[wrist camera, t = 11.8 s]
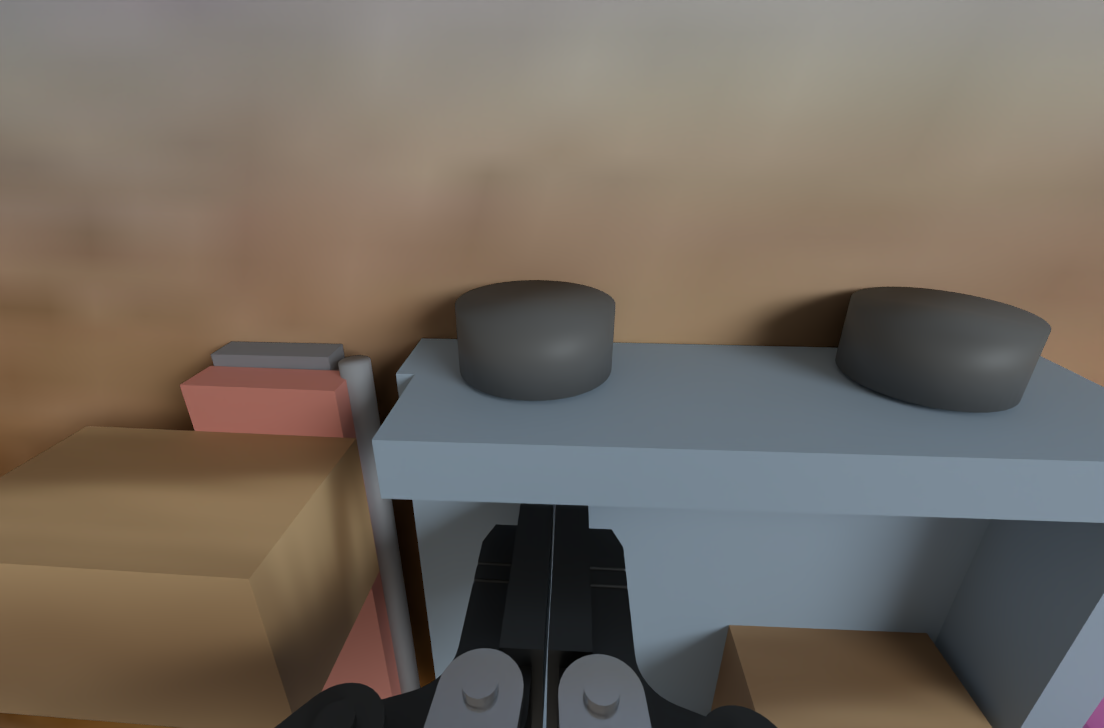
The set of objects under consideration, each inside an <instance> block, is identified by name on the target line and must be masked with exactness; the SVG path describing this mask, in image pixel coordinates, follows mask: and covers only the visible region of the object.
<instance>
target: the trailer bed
mask: <svg viewBox="0 0 1104 728" xmlns="http://www.w3.org/2000/svg"><path fill="white" fill-rule="evenodd" d="M455 313H456V326H457V339H428V338H422V339H421V340H420V342H419V343H418V344H417V346H416V347H415V348H414V350H413V351H412V352H411V354H410V355H409V357H408V358H407V359H406V361H405V362H404V363H403V365H402V366H401V367H400V369H399V370H398V372H397V373H396V379H397V387H398V394H399V399H398V401H397V402H396V404H395V405H394V407H393V408H392V410H391V411H390V413H389V414H388V416H387V418H386V419H385V421H384V422H383V424H382V425H381V427H380V428H379V430H378V431H377V433H376V434H375V436H374V437H373V439H372V445H373V451H374V457H375V463H376V469H377V476H378V482H379V488H380V494H381V499H409V500H412V501H413V509H414V516H415V524H416V531H417V539H418V547H419V554H420V562H421V570H422V577H423V585H424V592H425V600H426V608H427V615H428V623H429V631H430V638H431V646H432V654H433V661H434V669H435V676H436V679H437V678H438V677H439V676H440V675H441V674H443V672H444V670H445V669H446V668H447V666H448V665H449V664H450V663H451V662H452V661H453V659H454V657H455V655H456V653H457V650H458V646H459V642H460V638H461V633H462V629H463V625H464V620H465V616H466V611H467V607H468V603H469V598H470V594H471V590H472V585H473V583H474V576H475V572H476V568H477V565H478V559H479V554H480V550H481V546H482V541H483V540H484V539H485V538H486V536H487V535H488V534H489V532H490V531H491V530H492V529H493V527H494V526H495V525H496V524H499V525H517V524H518V517H519V510H520V504H521V503H528V504H553V544H552V566H553V548H554V530H555V512H556V504H557V505H587V506H588V510H589V528H594V529H612V531H613V532H614V534H615V535H616V537H617V538H618V540H619V541H620V543H621V545H622V546H623V549H624V558H625V568H626V569H625V571H626V577H627V590H628V595H629V604H630V613H631V622H632V632H633V641H634V650H635V657H636V662H637V665H638V668H639V671H640V672H641V674H642V676H643V678H644V679H645V681H646V682H647V683H648V685H649V686H650V687H651V688H652V689H653V690H654V691H655V692H656V693H658V694H659V695H660V696H661V697H663V698H664V699H666V700H668V701H669V702H671V703H674V704H676V705H678V706H680V707H683V708H686V709H688V710H691V711H693V712H696V713H698V714H701V715H703V716H707V714H708V713H710V712H711V708H712V703H713V698H714V694H715V689H716V684H717V680H718V675H719V670H720V665H721V661H722V656H723V651H724V647H725V642H726V637H727V632H728V628H729V625H742V626H766V627H790V628H814V629H838V630H863V631H887V632H911V633H927V634H928V635H929V637H930V638H931V640H932V641H933V643H934V644H935V646H936V647H937V648H938V650H939V651H940V653H941V654H942V656H943V657H944V659H945V660H946V661H947V663H948V664H949V666H950V667H951V669H952V670H953V672H954V673H955V674H956V676H957V677H958V679H959V680H960V682H961V683H962V685H963V686H964V687H965V689H966V690H967V692H968V693H969V695H970V696H971V697H972V699H973V700H974V702H975V703H976V705H977V706H978V708H979V709H980V710H981V712H982V713H983V715H984V716H985V718H986V719H987V721H988V722H989V723H990V725H991V726H992V728H1082V727H1083V726H1084V725H1085V723H1086V722H1087V720H1088V719H1089V717H1090V716H1091V715H1092V713H1093V712H1094V710H1095V709H1096V707H1097V706H1098V704H1099V703H1100V702H1101V700H1102V699H1103V697H1104V387H1102V386H1100V385H1098V384H1096V383H1094V382H1092V381H1090V380H1088V379H1086V378H1084V377H1082V376H1080V375H1078V374H1076V373H1074V372H1072V371H1070V370H1068V369H1066V368H1064V367H1062V366H1060V365H1057V364H1055V363H1053V362H1051V361H1049V360H1047V359H1045V358H1043V357H1041V356H1040V355H1041V352H1042V350H1043V348H1044V346H1045V343H1046V341H1047V339H1048V336H1049V334H1050V332H1051V327H1050V325H1049V324H1048V323H1047V322H1046V321H1045V320H1043V319H1042V318H1040V317H1038V316H1036V315H1034V314H1032V313H1030V312H1028V311H1025V310H1022V309H1020V308H1017V307H1014V306H1011V305H1008V304H1004V303H1001V302H997V301H993V300H989V299H985V298H981V297H976V296H971V295H966V294H961V293H955V292H949V291H942V290H934V289H924V288H912V287H876V288H868V289H863V290H859V291H857V292H855V293H853V294H852V296H851V299H850V303H849V306H848V310H847V314H846V318H845V322H844V326H843V330H842V334H841V338H840V342H839V346H838V348H831V347H786V346H741V345H697V344H652V343H613V335H614V318H615V302H614V300H613V299H612V297H611V296H609V295H608V294H606V293H604V292H603V291H600V290H598V289H595V288H592V287H588V286H585V285H580V284H575V283H568V282H560V281H544V280H528V281H512V282H503V283H496V284H491V285H487V286H483V287H479V288H476V289H473V290H471V291H468V292H467V293H465V294H463V295H462V296H460V297H459V298H458V299H457V301H456V303H455ZM211 357H212V360H213V364H214V366H226V367H253V368H280V369H307V370H334V371H339V366H338V362H339V361H340V360H342V359H343V358H345V357H344V351H343V345H342V344H315V343H272V342H230V343H228V344H227V345H225V346H223V347H222V348H220V349H219V350H217V351H215V352H214V353H212V354H211ZM551 583H552V575H551ZM550 601H551V594H550ZM549 619H550V612H549ZM548 637H549V629H548ZM547 663H548V647H547ZM546 714H547V664H546V682H545V699H544V716H543V728H546Z"/></svg>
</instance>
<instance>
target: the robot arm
mask: <svg viewBox="0 0 1104 728" xmlns="http://www.w3.org/2000/svg"><path fill="white" fill-rule="evenodd" d="M552 544H553V504H528V503H521V504H520V510H519V517H518V524H517V525H499V524H496V525H495V526H494V527H493V529H492V530H491V531H490V532H489V534H488V535H487V536H486V538H485V539H484V540H483V541H482V546H481V550H480V554H479V559H478V565H477V568H476V572H475V576H474V583H473V585H472V590H471V594H470V598H469V603H468V607H467V611H466V616H465V620H464V625H463V629H462V633H461V638H460V642H459V646H458V650H457V653H456V655H455V657H454V659H453V661H452V662H451V663H450V664H449V665H448V666H447V668H446V669H445V670H444V672H443V674H441V675H440V676H439V677H438V678H437V679H435V680H434V681H432V682H431V683H429V684H428V685H426V686H424V687H422V688H419V689H416V690H413V691H410V692H406V693H403V694H399V695H396V696H392V697H388V698H385V699H381V698H380V696H379V695H378V693H377V692H376V691H374V690H373V689H372V688H370V687H369V686H367V685H364V684H361V683H343V684H338V685H335V686H332V687H330V688H328V689H326V690H324V691H322V692H320V693H319V694H317V695H316V696H314V697H313V698H312V699H310V700H309V701H308V702H307V703H305V704H304V705H303V706H301V707H300V708H299V709H298V710H296V711H295V712H294V713H292V714H291V715H290V716H289V717H287V718H286V719H285V720H283V721H282V722H281V723H280V724H278V725H277V726H276V727H274V728H543V716H544V699H545V682H546V664H547V714H546V728H777V727H776V726H775V725H774V724H773V723H772V722H771V721H769V720H768V719H767V718H766V717H764V716H763V715H761V714H760V713H758V712H756V711H753V710H751V709H748V708H745V707H742V706H736V705H727V706H722V707H719V708H716V709H714V710H713V711H711V712H710V713H708V714H707V716H703V715H701V714H698V713H696V712H693V711H691V710H688V709H686V708H683V707H680V706H678V705H676V704H674V703H671V702H669V701H668V700H666V699H664V698H663V697H661V696H660V695H659V694H658V693H656V692H655V691H654V690H653V689H652V688H651V687H650V686H649V685H648V683H647V682H646V681H645V679H644V678H643V676H642V674H641V672H640V671H639V668H638V665H637V662H636V657H635V650H634V641H633V632H632V622H631V613H630V604H629V595H628V590H627V577H626V571H625V569H626V568H625V558H624V549H623V546H622V545H621V543H620V541H619V540H618V538H617V537H616V535H615V534H614V532H613V531H612V529H594V528H589V510H588V506H587V505H557V504H556V512H555V530H554V548H553V566H552ZM551 575H552V583H551ZM550 594H551V601H550ZM549 612H550V619H549ZM548 629H549V637H548ZM547 647H548V663H547Z"/></svg>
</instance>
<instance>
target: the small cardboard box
mask: <svg viewBox="0 0 1104 728" xmlns="http://www.w3.org/2000/svg"><path fill="white" fill-rule="evenodd" d="M727 705H736V706H742V707H745V708H748V709H751V710H753V711H756V712H758V713H760V714H761V715H763V716H764V717H766V718H767V719H768V720H769V721H771V722H772V723H773V724H774V725H775V726H776V727H777V728H992V726H991V725H990V723H989V722H988V721H987V719H986V718H985V716H984V715H983V713H982V712H981V710H980V709H979V708H978V706H977V705H976V703H975V702H974V700H973V699H972V697H971V696H970V695H969V693H968V692H967V690H966V689H965V687H964V686H963V685H962V683H961V682H960V680H959V679H958V677H957V676H956V674H955V673H954V672H953V670H952V669H951V667H950V666H949V664H948V663H947V661H946V660H945V659H944V657H943V656H942V654H941V653H940V651H939V650H938V648H937V647H936V646H935V644H934V643H933V641H932V640H931V638H930V637H929V635H928V634H927V633H911V632H887V631H863V630H838V629H814V628H790V627H766V626H742V625H729V628H728V632H727V637H726V642H725V647H724V651H723V656H722V661H721V665H720V670H719V675H718V680H717V684H716V689H715V694H714V698H713V703H712V708H711V711H713V710H714V709H716V708H719V707H722V706H727Z"/></svg>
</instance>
